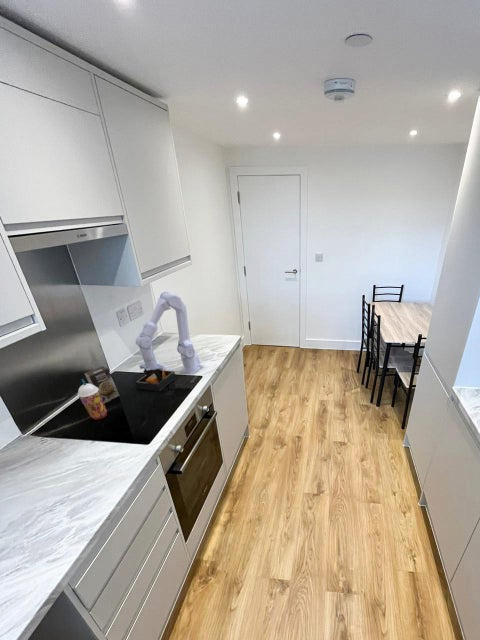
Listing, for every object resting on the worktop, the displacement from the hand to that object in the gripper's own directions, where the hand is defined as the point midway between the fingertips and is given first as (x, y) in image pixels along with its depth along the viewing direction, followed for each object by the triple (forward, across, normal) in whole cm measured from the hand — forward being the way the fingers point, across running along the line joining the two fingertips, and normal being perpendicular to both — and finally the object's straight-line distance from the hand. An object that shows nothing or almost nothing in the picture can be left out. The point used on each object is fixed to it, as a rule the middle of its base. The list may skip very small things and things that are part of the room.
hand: (157, 381), depth 175 cm
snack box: (+1, 0, 0) cm, 1 cm away
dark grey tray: (+2, 0, 0) cm, 2 cm away
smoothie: (+2, -8, -32) cm, 34 cm away
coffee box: (+2, -16, -18) cm, 25 cm away
